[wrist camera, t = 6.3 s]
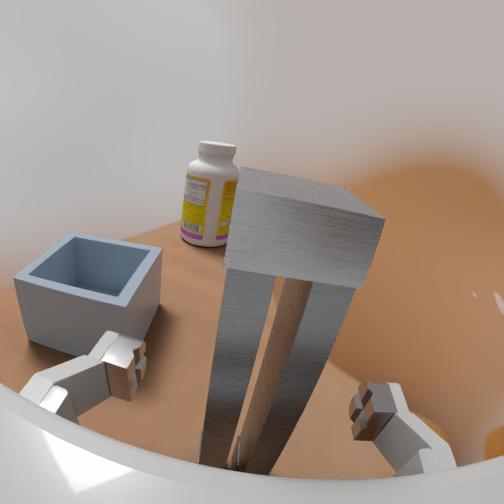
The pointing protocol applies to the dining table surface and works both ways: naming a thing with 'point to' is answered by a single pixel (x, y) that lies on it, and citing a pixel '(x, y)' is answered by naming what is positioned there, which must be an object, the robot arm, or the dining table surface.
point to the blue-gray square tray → (89, 292)
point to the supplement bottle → (209, 195)
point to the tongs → (281, 308)
